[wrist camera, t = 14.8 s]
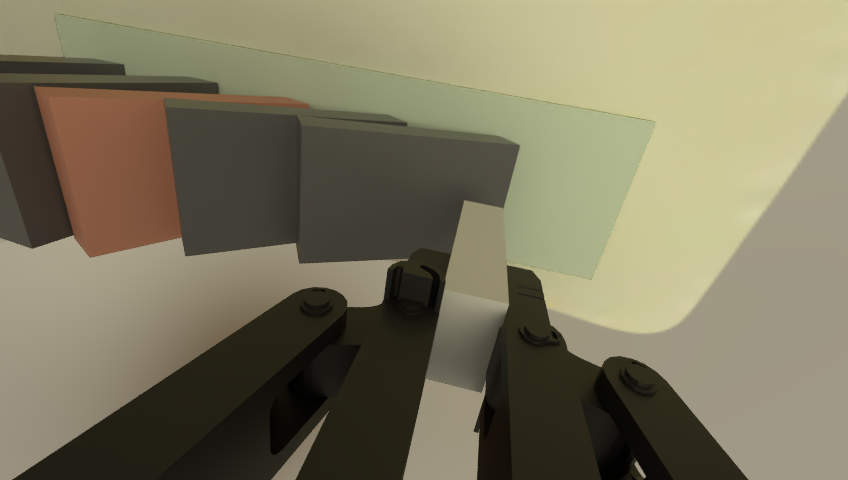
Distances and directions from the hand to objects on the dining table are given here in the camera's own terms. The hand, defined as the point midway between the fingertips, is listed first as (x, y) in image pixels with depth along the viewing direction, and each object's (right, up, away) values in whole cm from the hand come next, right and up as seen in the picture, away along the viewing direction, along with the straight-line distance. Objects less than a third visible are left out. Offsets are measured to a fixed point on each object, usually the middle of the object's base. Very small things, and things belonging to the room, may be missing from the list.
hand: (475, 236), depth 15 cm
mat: (-8, +5, +7) cm, 12 cm away
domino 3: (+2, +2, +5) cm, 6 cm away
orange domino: (-9, +5, +7) cm, 12 cm away
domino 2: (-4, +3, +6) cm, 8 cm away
